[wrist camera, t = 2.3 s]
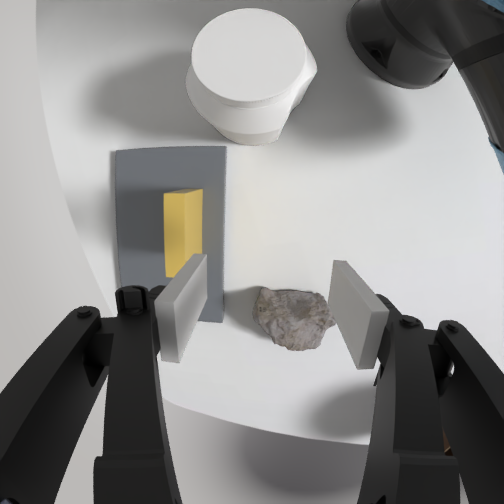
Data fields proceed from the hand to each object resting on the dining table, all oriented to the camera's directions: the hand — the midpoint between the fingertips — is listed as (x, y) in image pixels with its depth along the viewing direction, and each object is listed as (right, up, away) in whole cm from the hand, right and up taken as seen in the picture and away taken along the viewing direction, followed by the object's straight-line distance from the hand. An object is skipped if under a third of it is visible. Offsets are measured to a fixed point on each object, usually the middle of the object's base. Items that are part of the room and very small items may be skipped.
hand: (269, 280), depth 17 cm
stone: (+4, -6, +22) cm, 23 cm away
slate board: (-11, +4, +19) cm, 23 cm away
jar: (-1, +20, +15) cm, 25 cm away
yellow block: (-8, +5, +17) cm, 20 cm away
